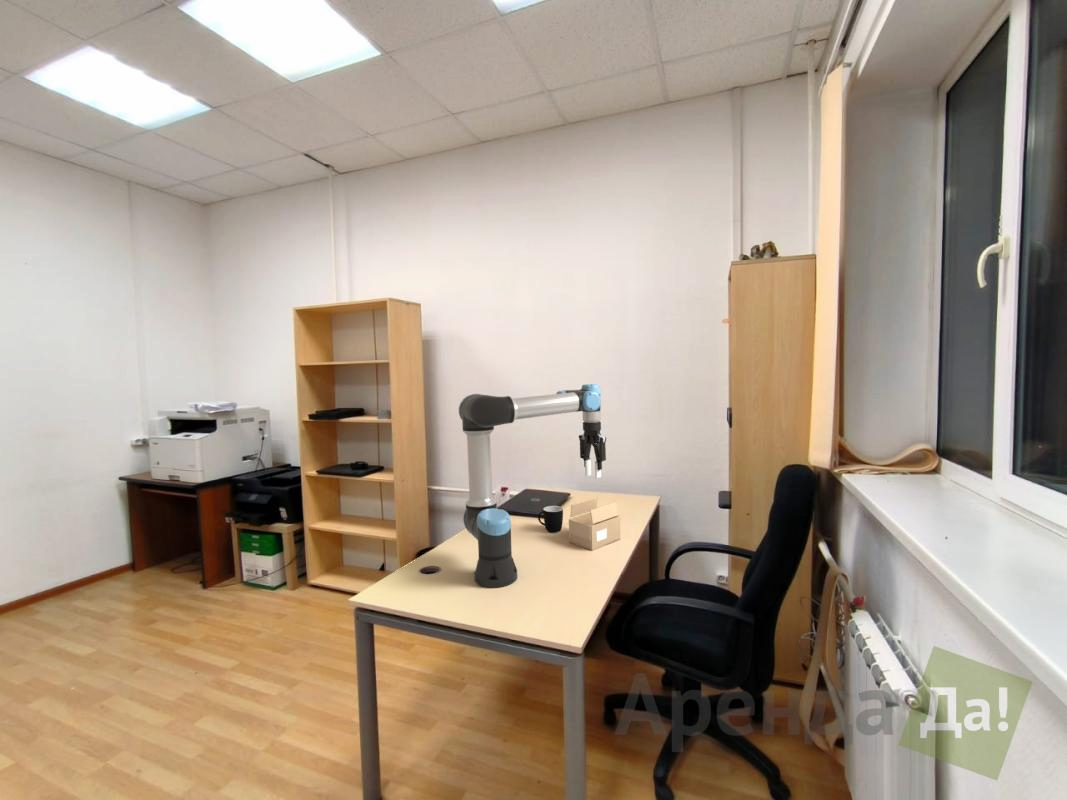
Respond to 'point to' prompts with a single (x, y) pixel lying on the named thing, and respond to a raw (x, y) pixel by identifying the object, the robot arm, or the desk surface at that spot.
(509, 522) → the robot arm
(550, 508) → the mug
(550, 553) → the desk surface
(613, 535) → the carton
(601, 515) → the right flap
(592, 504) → the left flap
